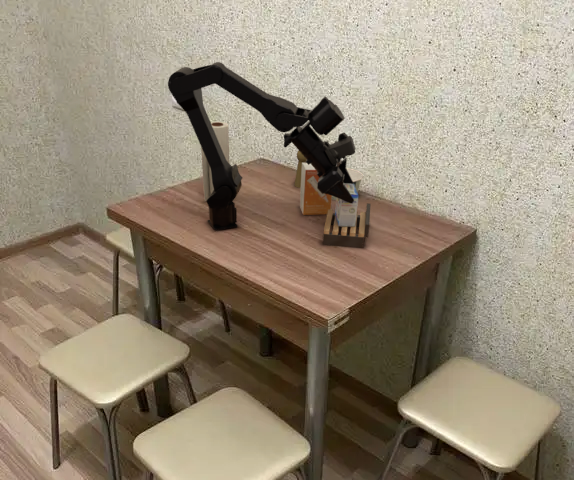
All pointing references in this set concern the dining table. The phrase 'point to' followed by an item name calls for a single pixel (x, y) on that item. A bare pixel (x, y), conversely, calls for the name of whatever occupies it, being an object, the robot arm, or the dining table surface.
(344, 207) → the medicine box
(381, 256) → the dining table surface
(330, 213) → the rack
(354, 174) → the food container
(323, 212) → the small box
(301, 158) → the brown pawn figure
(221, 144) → the paper towel roll
